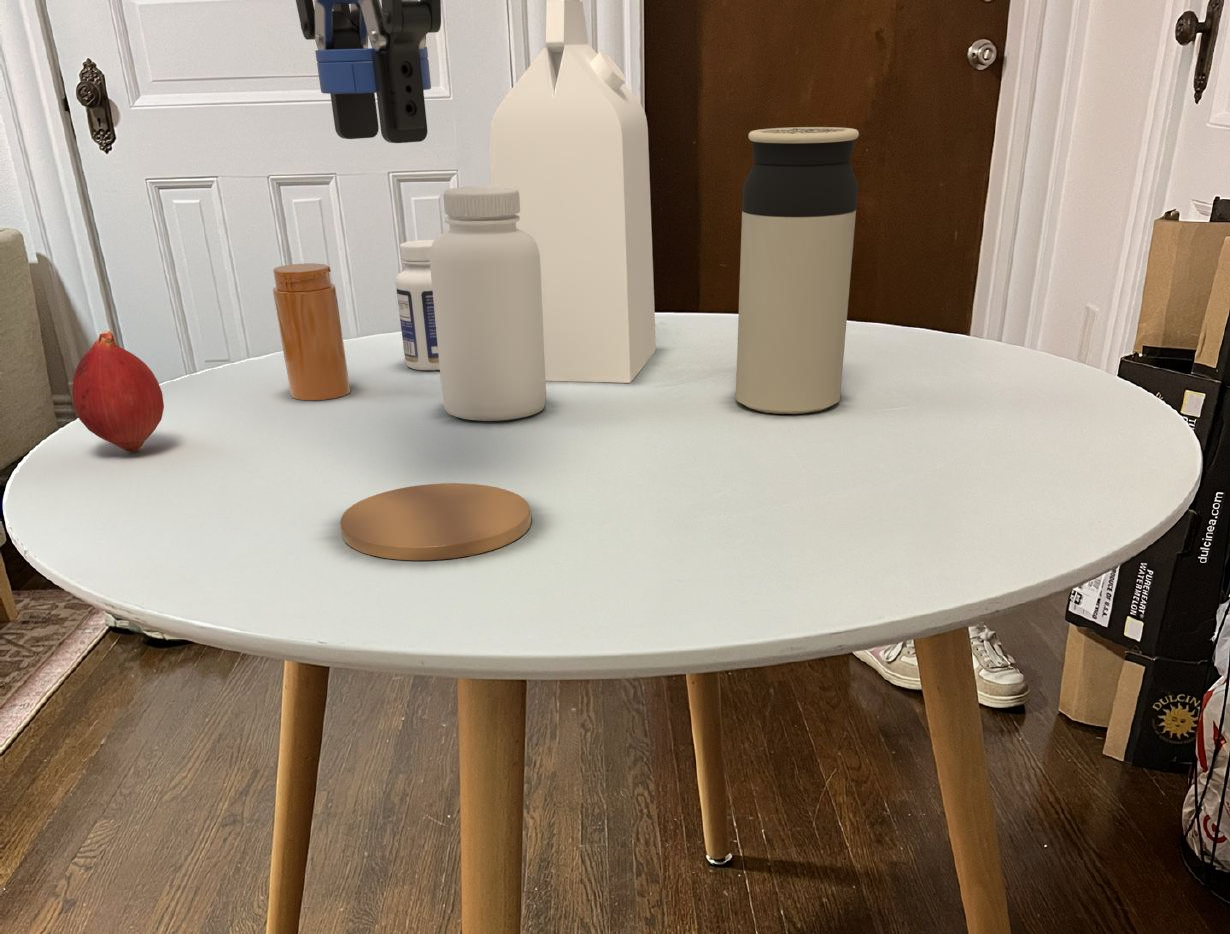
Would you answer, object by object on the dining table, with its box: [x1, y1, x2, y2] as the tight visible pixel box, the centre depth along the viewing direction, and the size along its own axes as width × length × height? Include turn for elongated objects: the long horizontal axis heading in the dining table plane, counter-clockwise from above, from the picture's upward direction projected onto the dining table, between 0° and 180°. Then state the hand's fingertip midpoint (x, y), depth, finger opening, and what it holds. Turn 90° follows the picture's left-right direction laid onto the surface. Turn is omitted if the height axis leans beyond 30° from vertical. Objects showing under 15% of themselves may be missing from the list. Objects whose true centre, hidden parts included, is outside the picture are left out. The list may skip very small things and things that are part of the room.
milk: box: [488, 0, 657, 384], centre depth 94 cm, size 12×12×26 cm
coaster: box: [339, 482, 532, 561], centre depth 67 cm, size 11×11×1 cm
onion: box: [71, 330, 165, 453], centre depth 79 cm, size 6×6×8 cm
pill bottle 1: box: [395, 239, 440, 371], centre depth 99 cm, size 5×5×10 cm
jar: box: [272, 262, 351, 401], centre depth 92 cm, size 5×5×9 cm
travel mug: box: [735, 126, 860, 415], centre depth 84 cm, size 8×8×18 cm
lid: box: [314, 46, 432, 95], centre depth 58 cm, size 6×6×2 cm
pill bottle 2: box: [430, 185, 547, 422], centre depth 85 cm, size 8×8×15 cm
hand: (380, 138), depth 60 cm, fingers closed on lid, 5 cm apart
